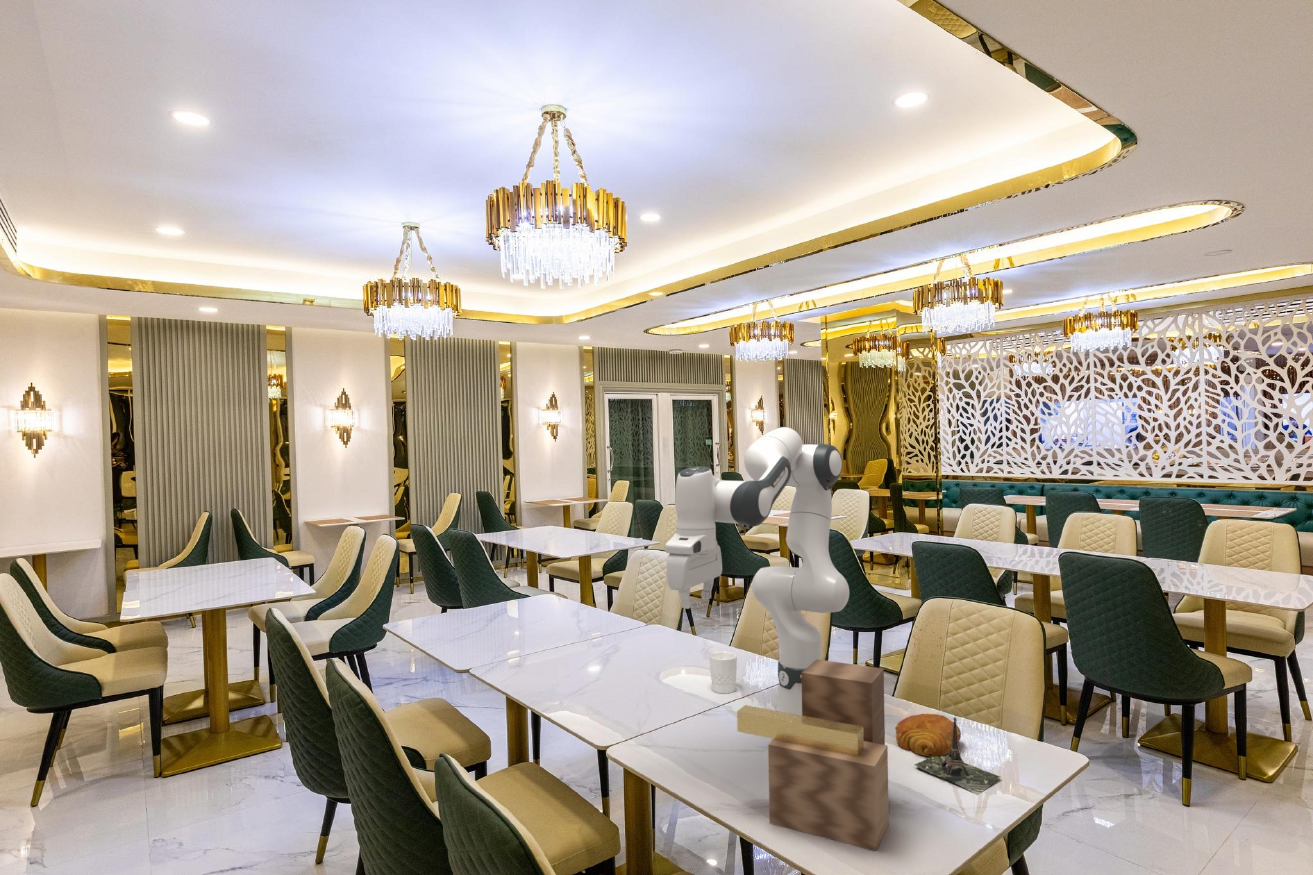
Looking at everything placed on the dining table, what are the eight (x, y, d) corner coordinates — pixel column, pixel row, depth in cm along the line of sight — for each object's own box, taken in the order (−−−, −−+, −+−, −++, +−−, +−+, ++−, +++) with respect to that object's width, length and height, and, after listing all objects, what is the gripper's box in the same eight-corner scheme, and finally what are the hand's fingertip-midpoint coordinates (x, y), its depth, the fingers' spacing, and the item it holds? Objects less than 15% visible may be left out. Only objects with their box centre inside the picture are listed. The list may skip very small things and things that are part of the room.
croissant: (968, 751, 176) (970, 717, 177) (946, 765, 164) (948, 728, 165) (908, 735, 186) (910, 702, 186) (883, 746, 174) (886, 711, 174)
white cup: (736, 695, 211) (735, 660, 211) (708, 693, 212) (708, 658, 212) (738, 686, 218) (738, 652, 218) (712, 684, 220) (711, 651, 220)
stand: (769, 823, 141) (767, 686, 141) (804, 778, 159) (803, 657, 159) (876, 850, 131) (873, 704, 131) (900, 799, 149) (898, 670, 149)
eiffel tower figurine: (1003, 780, 157) (1003, 717, 157) (977, 794, 151) (977, 729, 150) (939, 755, 169) (938, 697, 169) (912, 767, 163) (912, 707, 162)
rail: (737, 731, 147) (737, 711, 147) (745, 724, 151) (745, 704, 151) (857, 756, 135) (857, 734, 135) (863, 748, 138) (863, 726, 138)
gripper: (703, 534, 174) (704, 593, 174) (661, 546, 156) (662, 611, 156) (728, 535, 171) (729, 595, 171) (687, 548, 153) (688, 614, 153)
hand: (696, 603), depth 163 cm, fingers open, 8 cm apart
